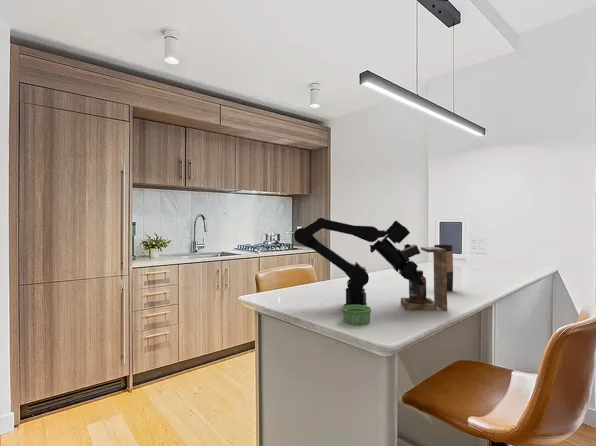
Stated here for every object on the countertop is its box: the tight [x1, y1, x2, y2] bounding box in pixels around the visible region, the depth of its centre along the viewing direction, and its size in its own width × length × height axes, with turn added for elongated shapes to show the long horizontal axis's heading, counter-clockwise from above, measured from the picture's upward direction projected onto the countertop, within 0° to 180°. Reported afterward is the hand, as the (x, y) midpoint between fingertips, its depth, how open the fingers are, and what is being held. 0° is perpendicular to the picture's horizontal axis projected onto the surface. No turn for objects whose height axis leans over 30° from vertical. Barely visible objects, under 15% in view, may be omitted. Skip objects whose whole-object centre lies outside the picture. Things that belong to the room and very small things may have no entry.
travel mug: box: [433, 244, 454, 293], centre depth 154 cm, size 8×8×20 cm
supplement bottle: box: [408, 269, 427, 303], centre depth 126 cm, size 6×6×11 cm
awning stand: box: [400, 246, 448, 312], centre depth 126 cm, size 14×11×21 cm
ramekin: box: [341, 305, 372, 326], centre depth 108 cm, size 9×9×4 cm
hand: (421, 283), depth 126 cm, fingers closed on supplement bottle, 6 cm apart
